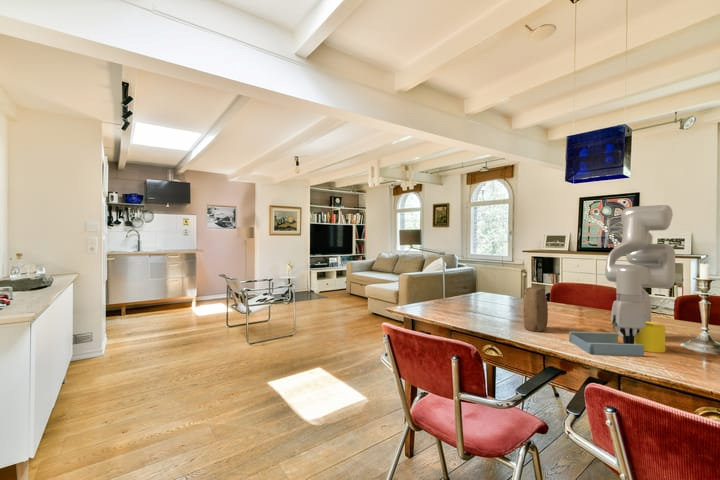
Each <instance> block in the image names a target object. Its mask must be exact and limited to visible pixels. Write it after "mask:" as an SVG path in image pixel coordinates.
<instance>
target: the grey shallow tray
mask: <svg viewBox="0 0 720 480" xmlns="http://www.w3.org/2000/svg"><path fill="white" fill-rule="evenodd" d="M568 334H569V335H568V338H569V339H568V340H569V342H570V343H572V344H574V345H575V346H576V347H578V348H580V349H582V350H583V351H585V352H586V353H587V354H590V355H597V356H599V355H602V356H624V357H625V356H628V357H629V356H630V357H644V355H645V353H644V352H645V351H644V345H642V344H624V343H619V335H618V332H600V331H598V332H597V331H596V332H594V331H593V332H592V331H569V333H568Z"/></svg>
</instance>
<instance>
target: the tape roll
mask: <svg viewBox="0 0 720 480" xmlns="http://www.w3.org/2000/svg"><path fill="white" fill-rule="evenodd" d="M634 344H642V345H644V352H649V353H658V354H660V353H666V325H664V324H662V323H657V322H652V321H651V322H647V321H646V327H645V328H641V332H638V333H637V334H636V336H634Z"/></svg>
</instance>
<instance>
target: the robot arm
mask: <svg viewBox="0 0 720 480" xmlns="http://www.w3.org/2000/svg"><path fill="white" fill-rule="evenodd" d="M673 213H674V212H673V209H672V207H671V206H669V205H667V204H658V205H657V204H656V205H641V206H639V205H638V206H630V207H627V208H624V209H623V210H622V211H621V213H620V220H621V224H622V236H621V242H620V244H617V245H616V246H615V247H614V248H613V249H612V250H610V252H609V253H608V255H607V258H606V263H605V268H604V275H605V279H606V281H608V282H611V283H615V284H616V288H615V289H616V290H615V291H616V293H615V294H616V296H615V297H616V300H613V303H612V307H611V314H610V324H611V325H612V329H613V330H615V331H617V334H618V337H622V341H623V344H634V336H636V334H637V333H638V332H641V328H645V327H646V321H647V322H652V298H651V295H650V294H649V293H648V292H647V291H646V290H645V288H649V289H650V288H651V289H660V290H661V289H663V290H664V289H665V290H667V289H668V290H669V289H671V288H673V287H674V285H675V281H676V251H675V249H674V247H673V246H672V245H671V244H668V243H667V244H666V243H653V235H652V233H650V231H653V232H654V231H667V230H668V229H669V227H670V226H671V223H672V219H673ZM624 256H625V259H626V261H627V262H628V263H629V264H619V263H618V264H616V262H617V260H619V259H620V258H621V257H624Z"/></svg>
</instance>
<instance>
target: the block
mask: <svg viewBox="0 0 720 480" xmlns="http://www.w3.org/2000/svg"><path fill="white" fill-rule="evenodd" d="M522 304H523V306H522V307H523V309H522V310H523V312H522V313H523V317H522V318H523V327H524V329H525V330H528V331H530V332H536V333H537V332H538V333H540V332H543V331H544V330H546V328H547V326H548V319H549V318H548V317H549V316H548V315H549V314H548V313H549V312H548V311H549V309H548V306H549V305H548V299H547V295H546V289H545V288H544V287H540V286H539V287H538V286H532V287H527V288H525V289H524V296H523V303H522Z"/></svg>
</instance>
